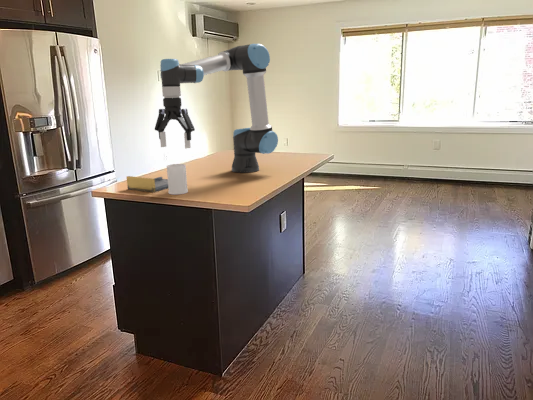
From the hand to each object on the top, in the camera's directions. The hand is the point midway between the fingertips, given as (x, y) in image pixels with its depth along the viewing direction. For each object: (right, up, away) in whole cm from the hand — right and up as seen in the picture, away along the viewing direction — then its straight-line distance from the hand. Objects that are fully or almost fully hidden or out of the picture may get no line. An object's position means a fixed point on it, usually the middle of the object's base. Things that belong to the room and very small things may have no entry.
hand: (175, 147), depth 187 cm
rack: (-12, -16, +16) cm, 26 cm away
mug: (+1, -19, +3) cm, 20 cm away
